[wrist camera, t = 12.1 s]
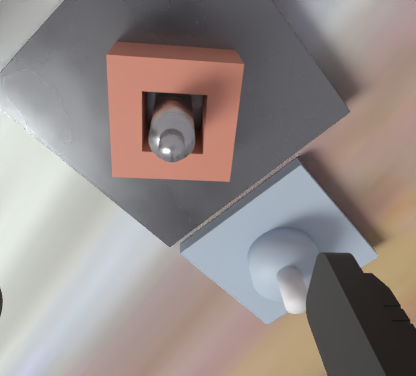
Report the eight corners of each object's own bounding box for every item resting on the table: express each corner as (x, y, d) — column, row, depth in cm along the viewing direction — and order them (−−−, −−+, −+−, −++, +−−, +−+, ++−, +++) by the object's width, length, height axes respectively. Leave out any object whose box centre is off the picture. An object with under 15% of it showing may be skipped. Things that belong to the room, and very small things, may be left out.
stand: (372, 247, 29) (410, 304, 24) (264, 314, 32) (279, 377, 27) (296, 157, 25) (324, 205, 20) (179, 244, 28) (179, 303, 23)
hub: (342, 104, 23) (402, 159, 17) (170, 236, 27) (167, 318, 21) (179, -125, 17) (179, -170, 11) (-9, 87, 21) (-86, 140, 15)
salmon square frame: (236, 50, 20) (244, 64, 17) (224, 156, 23) (229, 181, 20) (115, 41, 19) (106, 54, 17) (119, 151, 22) (112, 176, 20)
